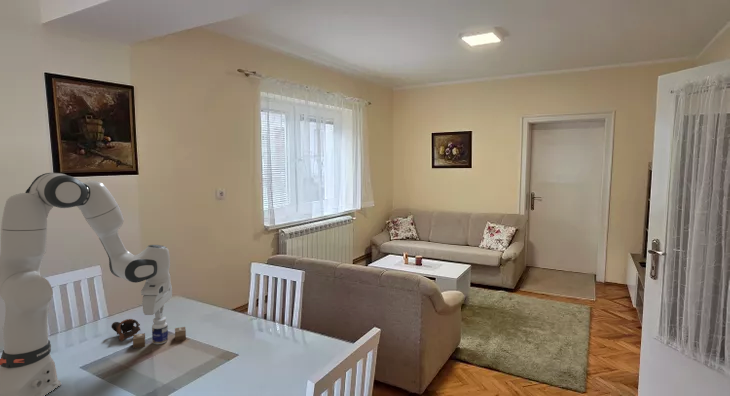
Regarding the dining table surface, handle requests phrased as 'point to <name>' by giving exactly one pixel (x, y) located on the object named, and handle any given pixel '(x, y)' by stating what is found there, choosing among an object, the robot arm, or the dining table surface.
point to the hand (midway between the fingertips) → (159, 317)
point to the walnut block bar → (180, 333)
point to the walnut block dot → (139, 340)
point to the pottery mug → (126, 328)
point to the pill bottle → (159, 330)
